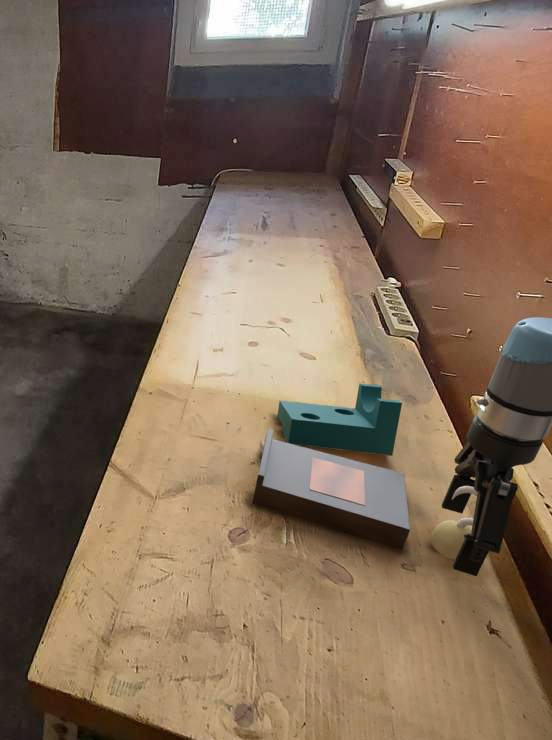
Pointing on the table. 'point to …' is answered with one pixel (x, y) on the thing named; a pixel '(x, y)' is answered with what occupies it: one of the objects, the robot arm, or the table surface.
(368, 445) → the teal l-shaped bracket
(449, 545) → the hook
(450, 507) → the robot arm
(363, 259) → the table surface
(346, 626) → the table surface
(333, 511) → the shelf
